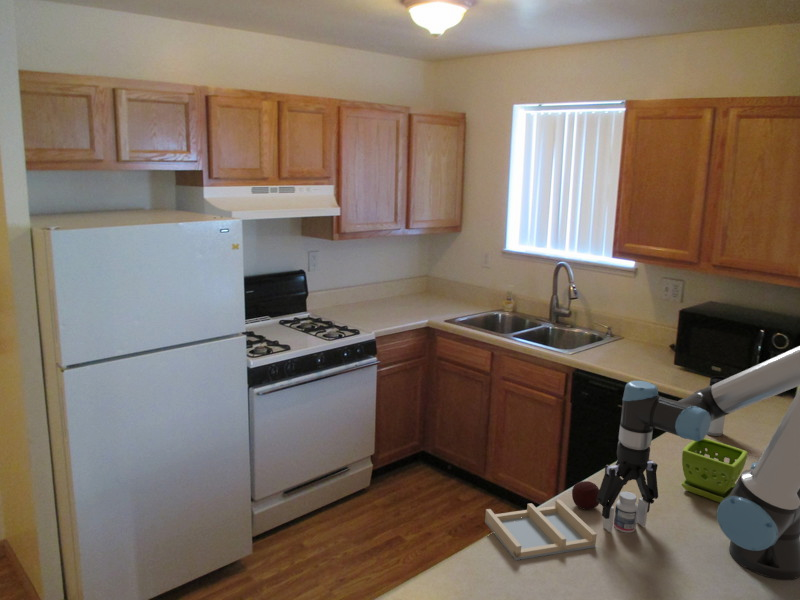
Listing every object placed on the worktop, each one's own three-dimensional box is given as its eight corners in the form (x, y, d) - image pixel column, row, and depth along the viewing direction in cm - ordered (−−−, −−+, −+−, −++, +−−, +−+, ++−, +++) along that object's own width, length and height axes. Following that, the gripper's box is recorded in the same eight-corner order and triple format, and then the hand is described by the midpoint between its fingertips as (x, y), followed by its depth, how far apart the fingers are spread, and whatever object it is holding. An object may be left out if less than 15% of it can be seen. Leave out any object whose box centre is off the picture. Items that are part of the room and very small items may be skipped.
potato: (565, 502, 169) (567, 478, 168) (588, 498, 173) (590, 474, 171) (583, 516, 163) (585, 491, 161) (606, 511, 166) (609, 487, 164)
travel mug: (723, 431, 222) (731, 377, 218) (721, 438, 216) (729, 382, 212) (704, 427, 225) (711, 374, 221) (701, 433, 220) (709, 379, 216)
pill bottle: (618, 519, 162) (621, 487, 160) (638, 527, 159) (642, 494, 157) (610, 527, 158) (613, 495, 156) (631, 535, 155) (635, 502, 153)
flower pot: (675, 490, 178) (680, 449, 176) (692, 475, 188) (697, 435, 186) (728, 509, 169) (735, 466, 166) (743, 492, 179) (749, 450, 177)
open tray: (595, 547, 150) (596, 533, 149) (515, 560, 143) (516, 546, 143) (558, 511, 165) (559, 499, 164) (485, 522, 159) (485, 509, 158)
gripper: (660, 433, 161) (650, 513, 165) (586, 441, 154) (577, 524, 159) (681, 445, 154) (670, 528, 158) (605, 454, 147) (595, 540, 152)
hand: (624, 526), depth 159 cm, fingers open, 9 cm apart
